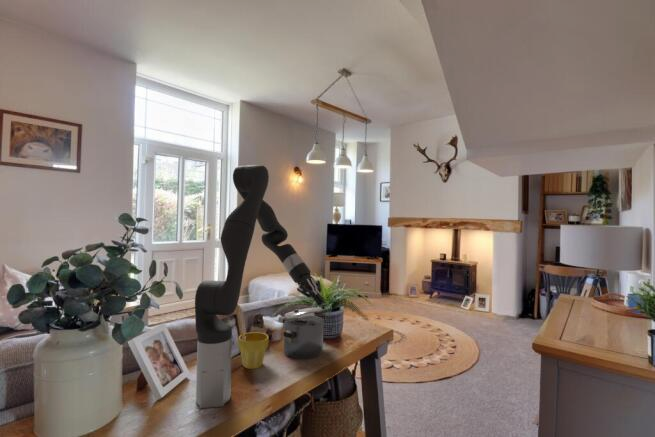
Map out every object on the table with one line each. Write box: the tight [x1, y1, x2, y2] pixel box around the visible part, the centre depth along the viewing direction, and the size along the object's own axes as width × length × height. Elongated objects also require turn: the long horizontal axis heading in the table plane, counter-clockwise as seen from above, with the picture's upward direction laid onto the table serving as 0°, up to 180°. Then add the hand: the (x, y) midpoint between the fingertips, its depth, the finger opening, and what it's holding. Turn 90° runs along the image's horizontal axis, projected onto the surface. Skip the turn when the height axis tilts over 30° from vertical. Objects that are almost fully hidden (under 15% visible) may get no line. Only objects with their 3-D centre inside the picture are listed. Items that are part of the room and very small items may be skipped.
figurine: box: [249, 312, 267, 334], centre depth 141 cm, size 7×7×12 cm
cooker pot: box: [277, 315, 324, 360], centre depth 133 cm, size 17×20×12 cm
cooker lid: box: [284, 306, 329, 319], centre depth 133 cm, size 17×15×2 cm
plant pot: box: [237, 331, 270, 370], centre depth 120 cm, size 10×10×10 cm
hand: (321, 304), depth 129 cm, fingers closed
